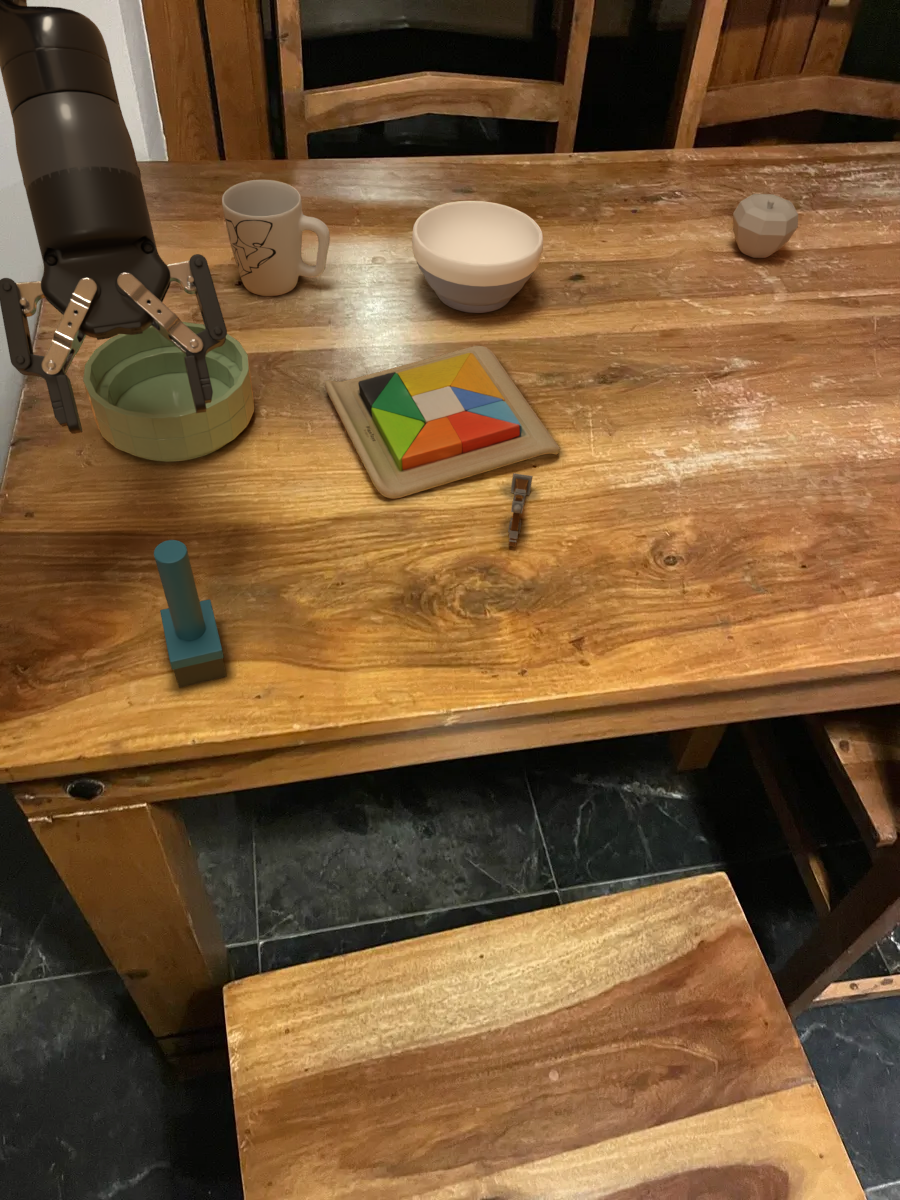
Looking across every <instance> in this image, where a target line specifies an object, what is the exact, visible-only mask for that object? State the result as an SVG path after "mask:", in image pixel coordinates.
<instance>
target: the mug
mask: <svg viewBox="0 0 900 1200" xmlns="http://www.w3.org/2000/svg"><path fill="white" fill-rule="evenodd" d="M302 201H303V200H302V196H301V194H300V192H299V190H298V189H296V188H295V187H294V186H292V185H290V184H289V183H286V182H282V181H278V180H273V179H253V180H252V179H251V180H246V181H242V182H239V183H236V184H234V185H232V186H230V187H229V188H228V189H226V190H225V191H224V192H223V194H222V197H221V207H222V212H223V217H224V221H225V225H226V227H225V228H226V231H227V236H228V240H229V245H230V248H231V251H232V254H233V258H234V260H235V264H236V267H237V270H238V273H239V276H240V280H241V282H242V285H243V286H244V288H245V289H246V290H247V291H248V292H249V293H252V294H254V295H257V296H261V297H277V296H281V295H285V294H287V293H290V292H291V291H293V290H294V288H296V286H297V284H298V281H299V277H300V276H301V277H305V278H318V277H320V276H321V275H323V274H324V271H325V270H326V266H327V260H328V259H327V258H328V252H329V248H330V243H331V233H330V229H329V226H328V225H327V224H326V223H325V222H324V221H322V220H321V219H319V218H317V217H313V216H308V215H305V214H304V213H303V202H302ZM304 231H311V232H314V233H315V235H316V236H317V241H318V242H317V253H316V260H315V261H316V263H315V265H312V264H308V263H306V262H305V260H304V259H303V258H302V244H303V232H304Z"/></svg>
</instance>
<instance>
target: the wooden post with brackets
mask: <svg viewBox="0 0 900 1200" xmlns="http://www.w3.org/2000/svg"><path fill="white" fill-rule="evenodd" d="M532 483H533V475H530V474H529V475H528V474H520V473H512V479H511V485H510V486H511V487H510V493H511V494H513V498H512V502H511V509H510V512H511V513H513V514H512V517H510V520H509V524H508V529H507V530H508V531H507V533H509V534H508V546H510V547H516V546H517V541H518V537H519V535H520V534H521V529H522V528H521V527H522V518H520V516H521V514H523V510H524V506H525V501H526V496H530V495H531V490H532V489H531V488H532Z"/></svg>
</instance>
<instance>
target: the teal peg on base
mask: <svg viewBox="0 0 900 1200" xmlns="http://www.w3.org/2000/svg"><path fill="white" fill-rule="evenodd" d="M188 551H189V550H188V548H187V545H186V544H185V543H183V542H182V541H181V540H177V539H169V540H168V539H167V540H165V541H162V542H160V543H158V545H156V546H155V548H154V550H153V557H154V560H155V565H156V567H157V571H158V572H157V573H158V576H159V578H160V581H161V584H162V590H163V593H164V597H165V600H166V604H167V608H163V609H160V610H159V613H160V618H161V623H162V628H163V634H164V638H165V645H166V649H167V650H166V651H167V655H168V660H169V664H170V667H171V670H173V673H174V675H175V679H176V682H177V685H178V688H179V689H180V688H185V687H188V686H193V685H197V684H202V683H206V682H210V681H214V680H218V679H222V678H226V677H228V675H227V671H226V670H227V669H226V665H225V662H224V658H225V656H224V652H223V647H222V643H221V637H220V635H219V630H218V626H217V625H218V624H217V621H216V617H215V614H214V609H213V604H212V600H211V599H210V598H209V599H203V600H200V597H199V593H198V590H197V585H196V582H195V576H194V573H193V568H192V564H191V560H190V556H189V552H188Z"/></svg>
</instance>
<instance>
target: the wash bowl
mask: <svg viewBox="0 0 900 1200" xmlns="http://www.w3.org/2000/svg"><path fill="white" fill-rule="evenodd" d="M182 322H183V323H184V324H185V325H186V326H187V327H188V328H190V329H191V330H192V331H193V332H194V333H195V334H198V333H200V332H201V331H203V330H205V325H204V323H196V322H188V321H182ZM185 357H186V355H185V354H184V353H183V352H182V351H181V350H180V349H179V348H178V347H176V346H175V345H174V344H173V343H172V342H171V341H169V340H167V339H166V338H165V337H164V336H162V335H161V334H160V333H159V332H158V331H157V330H156V329H155V328H153V327H152V326H150V327H149V328H148V329H146V330H145V331H143V334H136V335H127V334H118V335H116V336H113V337H111V338H108V339H106V341H105V342H103V343H101V345H100V346H98V347H97V348H95V349H94V351H93V352H92V353H91V355H90V357H89V359H87V361H86V363H85V365H84V369H83V378H82V381H83V385H84V388H85V392H86V395H87V399H88V402H89V405H90V408H91V412H92V415H93V418H94V421H95V424H96V427H97V428H98V431H99V433H100V435H101V437H102V438H103V439H105V440H106V441H107V442H108V443H109V444H111V446H113V447H114V448H115V449H117V450H119V451H122V452H125V453H127V454H129V455H131V456H135V457H137V458H141V459H145V460H150V461H156V462H182V461H188V460H195V459H198V458H201V457H205V456H207V455H210V454H212V453H214V452H217V451H218V450H220V449H222V448H224V447H225V446H226V445H228V444H229V443H230V442H232V441H233V440H235V439H236V438H237V437H238V436H239V435H240V434H241V433H242V432H243V431H244V430H245V429H246V428H247V427H248V425H249V423H250V421H251V419H252V417H253V414H254V412H255V398H254V389H253V383H252V375H251V374H252V373H251V367H250V361H249V355H248V353H247V352H246V350H245V348H244V347H243V345H242V344H241V342H240V341H239V340H238V339H236V338H234V337H233V336H232V335H230V334H229V333H227V335H226V341H225V343H224V345H223V346H221V347H217V348H215V349H213V350H211V351H210V352H208V353H207V355H206V357H205V359H206V364H207V368H208V373H209V377H210V381H211V386H212V390H213V395H212V401H211V403H205V404H206V412H202V413H196V410H195V406H194V401H193V397H192V392H191V388H190V384H189V379H188V375H187V371H186V366H185Z"/></svg>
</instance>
